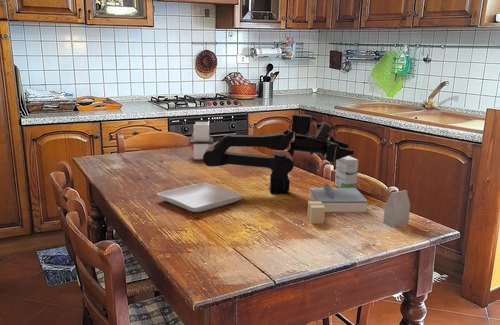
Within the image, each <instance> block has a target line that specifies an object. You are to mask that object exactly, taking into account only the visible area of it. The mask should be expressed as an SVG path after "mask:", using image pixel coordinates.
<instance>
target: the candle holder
mask: <svg viewBox="0 0 500 325" xmlns="http://www.w3.org/2000/svg"><path fill="white" fill-rule="evenodd" d="M194 123H195V124H193V137H191V138H190V139H189V144H190V145H193V159H194V160H203V155H204V153H205V151H206V150H207V149H208V148H209V147H210V145H213V144H214V139H213V137H210V122H209V121H195V122H194Z"/></svg>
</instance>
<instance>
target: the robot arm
mask: <svg viewBox="0 0 500 325" xmlns="http://www.w3.org/2000/svg"><path fill="white" fill-rule="evenodd" d="M312 118H313V116H312V115H310V114H305V113H301V114H298V113H297V114H294V113H293V114H292V115H291V127H289V128H288V129H286V130H284V131H278V132H270V133H268V134H231V133H227V134H224V136H223V138H221V139H220V140H219V141H218V142H216V144H214V146H209V148H208V149H207V150H206V151H205V153H204V155H203V159H202V161H203V163H204V164H205V165H206V166H207V167H221V166H226V165H234V166H235V165H236V166H242V167H243V166H245V167H246V166H247V167H253V168H254V167H255V168H267V169H270V171H271V173H270V174H269V187H268V190H269V193H270V194H271V195H272V194H273V195H274V194H278V195H282V194H287V195H288V194H289V191H290V181H291V180H290V178H289V175H288V174H289V173H290V172H292V171H293V169H294V168H295V167H294V165H295V164H294V161H293V158H292V157H294V155H295V152H302V153H309V155H314V154H317V155H321V156H324V158H325V160H326V161H327V162H330V163H334V162H335V161H336V160H338V159H340V158H343V157H346V156H352V155H354V153H355V152H354V150H351V149H349V148H350V147H349V146H350V145H349V143H346V142H344V141H343V142H342V141H339V140H337V139H335V138H334V137H333V136H332V134H330V133H331V131H332V129H333V126H332V125H331V124H329V123H327V122H326V121H321V122H318V123H317V124H316V125H315V128H316V129H317V130H316V133H315V134H312V135H310V136H308V133H310V132H311V131H310V130H311V123H312ZM231 147H245V148H246V147H250V148H251V147H252V148H254V147H255V148H257V147H258V148H265V149H266V148H267V149H270V150H274V151H273V154H271V155H270V154H269V155H263V154H262V155H261V154H249V153H241V152H240V153H239V152H229V151H228V150H229V149H230V148H231ZM279 151H280V152H279ZM285 151H287V153H286V152H285ZM289 154H290V155H289Z"/></svg>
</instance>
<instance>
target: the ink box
mask: <svg viewBox="0 0 500 325" xmlns="http://www.w3.org/2000/svg"><path fill="white" fill-rule="evenodd" d="M358 169H359V159H357V158H355V157H352V155H349V156H346V157H343V158H340V159H338V160H336V163H335V176H334V177H335V178H334V186H335V187H337V188H356V189H357V188H358V173H359V171H358ZM357 190H358V189H357Z"/></svg>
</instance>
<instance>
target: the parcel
mask: <svg viewBox="0 0 500 325" xmlns="http://www.w3.org/2000/svg"><path fill="white" fill-rule="evenodd" d="M325 213H326V212H325V207H324V205H323V204H322V202H321V201H311V200H310V201H309V200H308V201H307V216H306V217H307V218H308V221H309V223H310V224H325V216H326V215H325Z"/></svg>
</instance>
